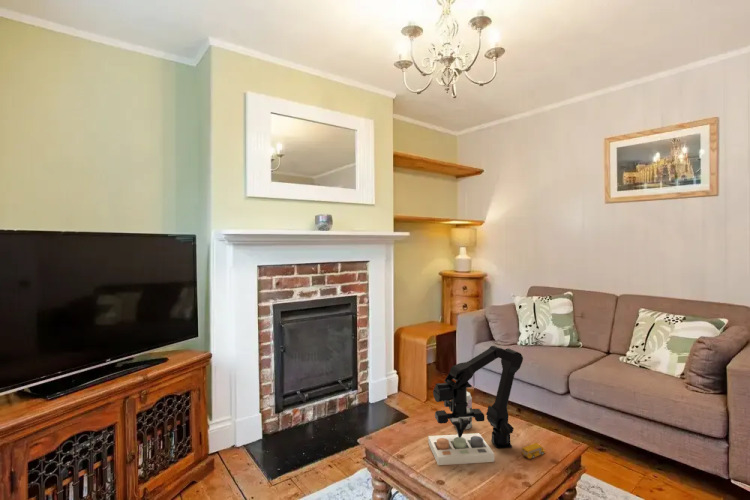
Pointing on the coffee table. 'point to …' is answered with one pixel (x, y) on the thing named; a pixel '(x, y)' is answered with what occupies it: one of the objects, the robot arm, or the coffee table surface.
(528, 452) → the toy bus
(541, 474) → the coffee table surface
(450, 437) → the panel
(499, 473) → the coffee table surface
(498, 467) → the coffee table surface
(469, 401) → the supplement can
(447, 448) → the rust button
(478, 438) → the charcoal button
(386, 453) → the coffee table surface
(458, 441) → the sage button
